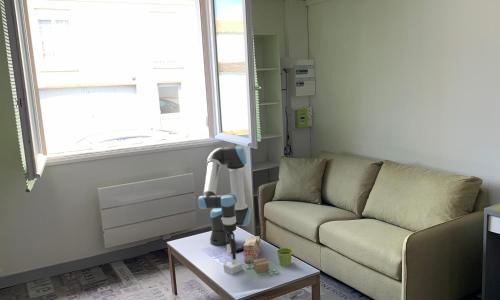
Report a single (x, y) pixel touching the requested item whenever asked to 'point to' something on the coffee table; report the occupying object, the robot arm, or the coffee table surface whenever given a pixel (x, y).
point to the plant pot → (284, 256)
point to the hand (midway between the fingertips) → (232, 259)
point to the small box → (232, 267)
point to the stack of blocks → (252, 248)
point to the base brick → (261, 265)
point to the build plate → (253, 275)
